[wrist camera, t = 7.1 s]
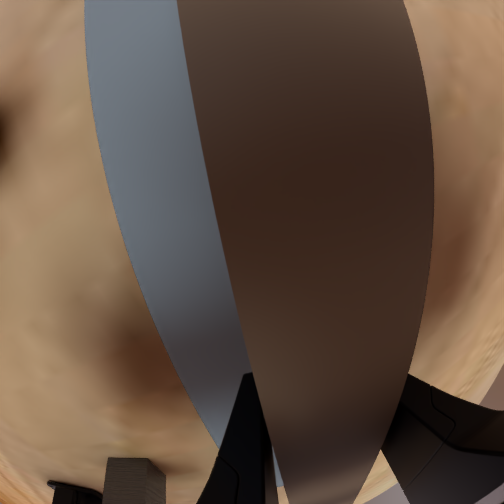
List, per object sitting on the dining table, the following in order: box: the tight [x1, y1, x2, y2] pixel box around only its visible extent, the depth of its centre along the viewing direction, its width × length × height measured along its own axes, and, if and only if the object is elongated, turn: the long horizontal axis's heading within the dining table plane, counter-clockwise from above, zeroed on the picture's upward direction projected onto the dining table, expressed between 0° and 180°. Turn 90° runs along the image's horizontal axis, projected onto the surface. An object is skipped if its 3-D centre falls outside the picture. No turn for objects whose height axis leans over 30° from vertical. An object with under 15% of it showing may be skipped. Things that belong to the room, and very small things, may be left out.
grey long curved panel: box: [85, 0, 284, 487], centre depth 10 cm, size 32×9×1 cm, turn 10°
